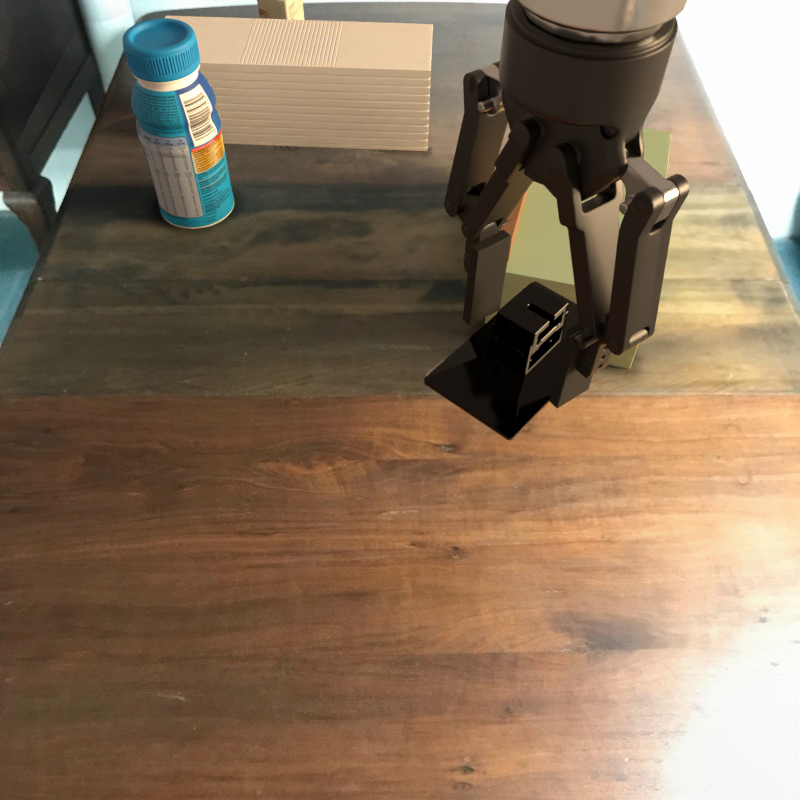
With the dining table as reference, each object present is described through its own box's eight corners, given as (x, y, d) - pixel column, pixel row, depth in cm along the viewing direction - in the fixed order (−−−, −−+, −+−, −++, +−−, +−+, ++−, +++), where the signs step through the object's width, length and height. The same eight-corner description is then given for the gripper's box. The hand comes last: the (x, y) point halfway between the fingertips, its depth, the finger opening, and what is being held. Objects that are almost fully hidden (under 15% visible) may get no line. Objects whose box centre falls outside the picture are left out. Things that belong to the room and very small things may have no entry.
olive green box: (647, 206, 90) (677, 110, 81) (628, 373, 74) (662, 278, 65) (526, 185, 92) (541, 90, 83) (482, 343, 76) (495, 248, 67)
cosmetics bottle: (280, 52, 111) (272, -23, 103) (309, 58, 110) (303, -17, 102) (264, 70, 108) (254, -6, 100) (293, 76, 107) (286, 0, 99)
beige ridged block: (429, 106, 102) (432, 23, 94) (427, 155, 96) (430, 70, 87) (184, 98, 103) (165, 15, 95) (164, 145, 96) (143, 60, 88)
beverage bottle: (160, 238, 86) (110, 60, 70) (159, 191, 91) (112, 16, 75) (239, 228, 87) (206, 52, 71) (233, 182, 92) (201, 8, 76)
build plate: (510, 443, 48) (519, 396, 44) (418, 382, 51) (420, 333, 47) (618, 331, 54) (634, 281, 50) (530, 281, 57) (540, 231, 53)
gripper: (384, -61, 38) (385, 286, 56) (726, 147, 28) (593, 491, 46) (503, -95, 41) (468, 245, 59) (854, 82, 31) (682, 430, 48)
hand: (523, 352), depth 52 cm, fingers closed on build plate, 8 cm apart
